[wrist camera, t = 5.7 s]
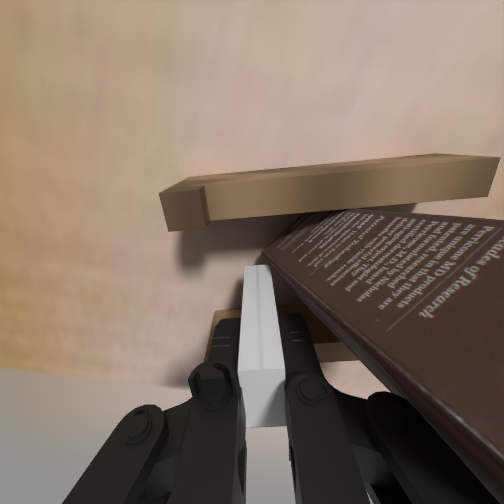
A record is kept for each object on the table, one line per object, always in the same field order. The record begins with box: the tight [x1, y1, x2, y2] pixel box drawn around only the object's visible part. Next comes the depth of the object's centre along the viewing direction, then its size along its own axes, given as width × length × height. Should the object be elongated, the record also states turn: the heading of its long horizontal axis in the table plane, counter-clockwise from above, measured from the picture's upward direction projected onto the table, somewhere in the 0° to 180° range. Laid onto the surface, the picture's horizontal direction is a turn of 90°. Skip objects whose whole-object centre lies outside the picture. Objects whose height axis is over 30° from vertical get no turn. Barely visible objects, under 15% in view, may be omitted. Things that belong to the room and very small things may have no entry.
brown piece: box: [159, 154, 501, 363], centre depth 13 cm, size 13×11×4 cm
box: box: [262, 208, 504, 504], centre depth 9 cm, size 6×4×12 cm
